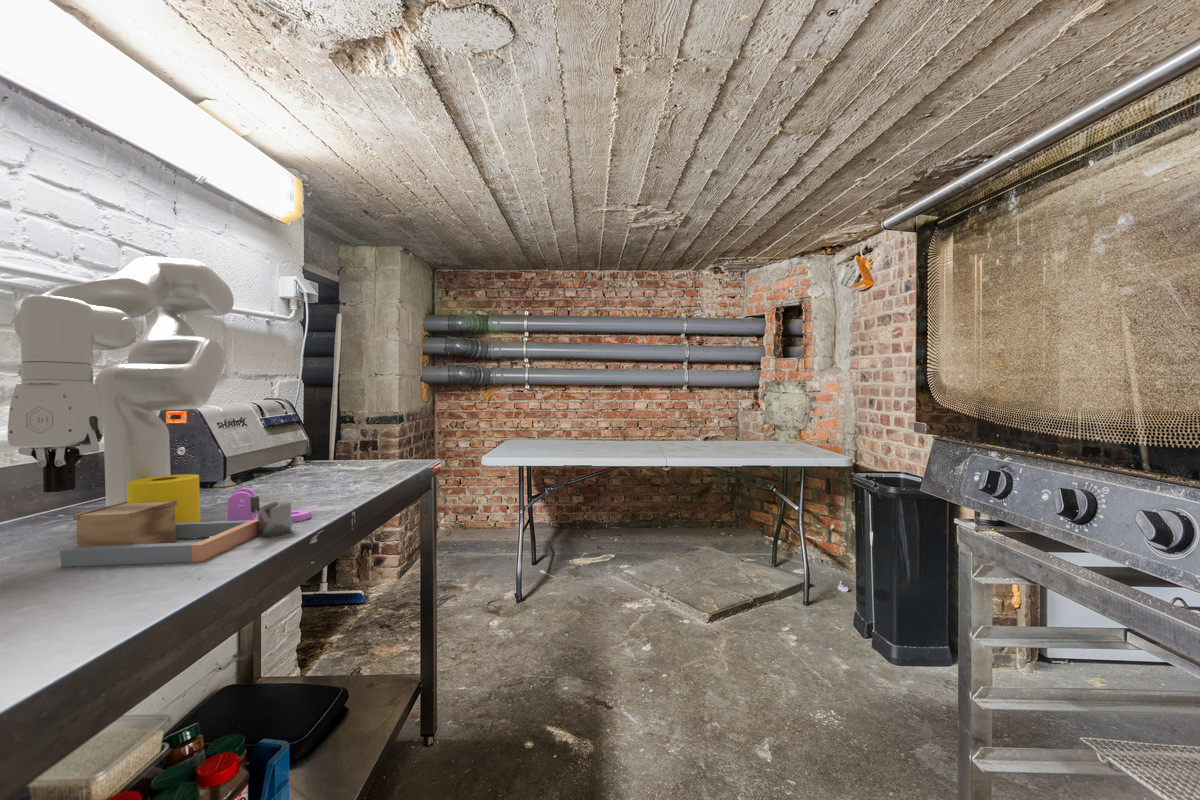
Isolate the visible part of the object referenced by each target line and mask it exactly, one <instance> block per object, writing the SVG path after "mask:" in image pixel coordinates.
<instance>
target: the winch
mask: <svg viewBox="0 0 1200 800" xmlns="http://www.w3.org/2000/svg"><path fill="white" fill-rule="evenodd" d="M250 502H251V509H250V514H258V535H257V536H258V537H259V536H261V537H260V538H273V537H272V536H275V537H280V536H284V535H287V534H289V532H290V531H291V532H292V531H293V526H292V525H293V523H292V519H291V511H292V502H289V501H283V502H278V500H271V501H269V502H266V503H263V504H261V505H260V496H259V495H255V496H253V497H250ZM291 532H290V533H291ZM286 533H287V534H286ZM283 534H284V535H283ZM279 535H280V536H279Z"/></svg>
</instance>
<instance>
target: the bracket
mask: <svg viewBox="0 0 1200 800" xmlns="http://www.w3.org/2000/svg"><path fill="white" fill-rule="evenodd" d="M253 496H256V492H255V491H254V489H251V488H248V487H242V488H238V489H236V490H235V491H234V492H233V493H232V495H230V497H229V498H228V500H227V503H226V504H227V505H226V506H227V521H238V520H258V514H250V509H251V502H250V497H253ZM311 514H312V512H311V509H295V510H294V509H293V510H292V509H291V519H292V522H294V523H297V522H296V521H300V522H303V521H302V520H304V521H306V520H305V519H307V520H309V519H308V518H310V517H311V516H312V515H311ZM311 518H312V517H311ZM311 518H310V519H311Z"/></svg>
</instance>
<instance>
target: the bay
mask: <svg viewBox="0 0 1200 800" xmlns="http://www.w3.org/2000/svg"><path fill="white" fill-rule="evenodd" d="M175 531H176V538H188V539H195V538H194V537H210V536H212V537H210V538H204V539H203V540H201V541H195V542H194V541H192V542H191V541H190V542H174V543H162V544H135V545H108V546H82V547H77V546H70V547H66V548H62V549H60V550H59V552H60V554H59V555H60V556H59V557H60V568H68V567H69V568H70V567H72V566H76V567H98V566H120V565H143V564H145V565H146V564H166V563H167V564H169V563H191V562H193V563H194V562H198V563H199V562H204V561H206V560H208V559H211V558H213V557H215V556H217V555H218V554H221V553H223V552H225V551H227V550H229V549H231V548H233V546H234V547H236V546H237V544H238V545H240V544H242V543H244V542H246V541H248V540H250V539H252V538H254V537H256V536H255V535H257V536H258V520H238V521H228V520H216V521H215V520H213V521H200V522H179V523H175ZM253 536H254V537H253ZM251 537H252V538H251ZM249 538H250V539H249ZM247 539H248V540H247ZM245 540H246V541H245ZM241 542H242V543H241ZM239 543H240V544H239ZM235 545H236V546H235ZM220 552H221V553H220ZM214 555H215V556H214ZM212 556H213V557H212ZM210 557H211V558H210Z"/></svg>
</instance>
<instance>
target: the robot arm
mask: <svg viewBox="0 0 1200 800" xmlns="http://www.w3.org/2000/svg"><path fill="white" fill-rule="evenodd" d="M234 301H235V300H234V295H233V291H232V290H231V288H230V286H229V285H228V284H227V282H225V281H224V280H223V279H222V278H221V277H220V276H219V274H217V273H216V272H215V271H214V270H213V269H212V268H211V267H209V266H208V265H206V264H204V263H203V262H200V261H198V260H195V259H189V258H188V259H186V258H172V257H162V256H161V257H160V256H158V257H157V256H144V257H143V256H142V257H138V258H135V259H133V260H131V261H130V262H128V263H127V264H125V265H124V266H123V267H121V268H119V270H117V271H115V272H114V273H113V274H111V275H109V276H108V277H105V278H101V279H95V280H89V281H86V282H81V283H77V284H72V285H67V286H62V287H58V288H54V289H51V290H49V291H45V292H43V293H40V294H39V295H31V296H27V297H25V298H24V299H23V300H22V301H21V303H20V309H19V310H18V312H16V315H15V317H14V321H13V322H14V323H13V325H14V326H13V327H14V331H15V334H16V335H17V337H18V338H19V339H20V352H21V353H20V354H21V355H20V356H21V357H20V361H21V364H20V367H21V368H20V369H19V370H18V371H17V373H18V376H20V377H21V383H16V384H15V386H14V390H13V391H12V396H11V401H10V405H9V409H8V410H9V411H8V420H7V443H8V445H9V446H11V447H13V448H17V449H18V450H17V452H18V455H22V456H28V457H32V458H33V459H35V460H36V461H37V465H38V467H40V468H42V472H43V475H42V477H43V478H42V481H43V482H42V483H43V485H42V486H43V488H42V489H43V490H42V491H43V492H44V493H60V492H65V491H66V492H67V491H70V490H71V491H72V490H75V488H76V466H77V465H78V464H80V463H81V459H83V457H85V456H86V455H89V454H93V453H97V452H99V451H100V449H101V448H100V445H99V443H100V442H101V441H103V448H104V449H103V452H104V453H103V455H104V480H105V482H104V483H105V485H104V486H105V489H104V490H105V507H106V506H110V505H114V504H117V503H121V502H128V501H127V482H129V481H132V480H136V479H142V478H148V477H156V476H166V475H171V450H170V449H171V447H170V445H171V444H170V442H171V441H170V440H171V439H170V431H169V428H168V427H167V425H166V423H165V422H164V421H163V420H162V419H161V418H160V417H159V416H158V415H157V414H156V413H155V412H154V411H174V410H175V411H180V410H182V411H183V410H195V409H198V408H199V409H200V408H202V407H203V406H204V405H206V403H208V401H209V400H210V397H211V395H212V394H213V391H215V388H216V385H217V383H218V382H219V379H220V377H221V375H222V372H223V369H224V366H225V354H224V350H223V347H222V346H221V344H220V343H219V342H218V341H217V340H216V339H214V338H212V337H209V336H203V335H196V334H195V330H194V328H192V327H191V325H190V324H188V323H187V322H186V321H185V320H184V319H183V318H182V317H180V316H179V315H184V316H209V317H210V316H211V317H212V316H214V317H216V316H220V317H221V316H226V315H228V314H229V313H231V312H232V310H233V307H234V305H235V304H234V303H235V302H234ZM140 317H144V318H145V320H146V325H147V327H146V328H145V330H144V331H143V332H142V334H141V335H140V336H139V338H138V339H137V336H138V327H137V324H136V323H135V321H134V319H135V318H136V319H137V318H140ZM136 339H137V341H136ZM135 341H136V342H135ZM134 342H135V343H134ZM133 343H134V344H133ZM132 344H133V346H132V347H131V349H130V350H129V353H128V356H127V363H120V364H119V363H117V364H112V365H110V366H107V367H105V368H103V369H101V370H100V371H99V372H98V373H97V374H96V376H95V380H94V351H96V350H97V351H115V350H116V351H117V350H122V349H125V348H128V347H129V346H131V345H132Z"/></svg>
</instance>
